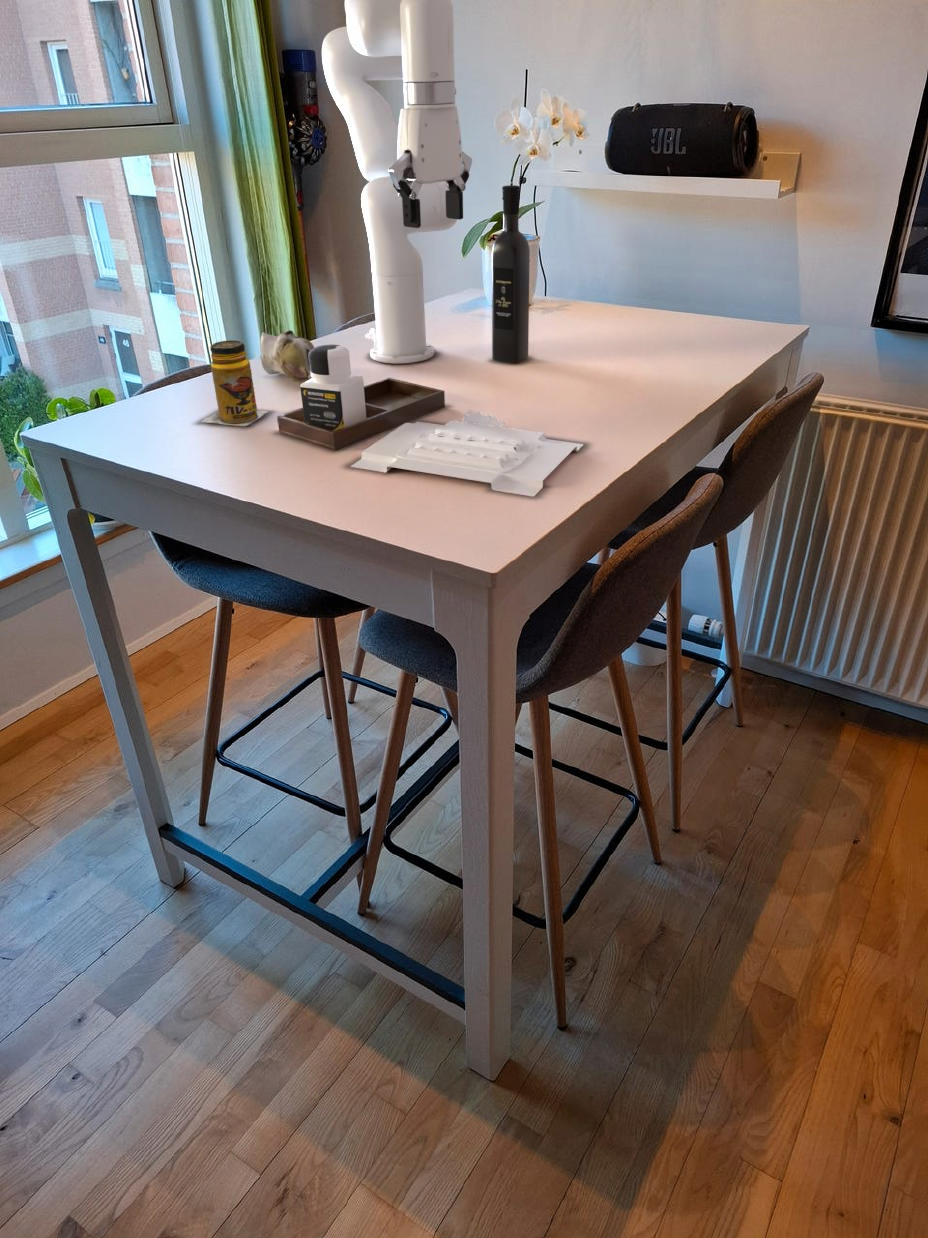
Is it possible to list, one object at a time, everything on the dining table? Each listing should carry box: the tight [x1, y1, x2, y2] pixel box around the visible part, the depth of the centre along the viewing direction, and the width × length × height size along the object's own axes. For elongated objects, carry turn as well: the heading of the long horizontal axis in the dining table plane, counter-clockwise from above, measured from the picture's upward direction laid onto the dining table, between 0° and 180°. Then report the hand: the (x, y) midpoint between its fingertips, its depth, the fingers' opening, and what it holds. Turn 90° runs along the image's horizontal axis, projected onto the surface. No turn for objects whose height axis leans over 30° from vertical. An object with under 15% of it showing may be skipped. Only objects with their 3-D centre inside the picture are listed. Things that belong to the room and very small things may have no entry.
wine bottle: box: [491, 184, 531, 364], centre depth 162 cm, size 6×6×30 cm
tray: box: [349, 410, 584, 498], centre depth 127 cm, size 20×28×4 cm
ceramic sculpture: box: [259, 330, 315, 383], centre depth 161 cm, size 11×9×15 cm
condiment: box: [200, 339, 269, 427], centre depth 141 cm, size 7×8×12 cm
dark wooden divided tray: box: [276, 377, 446, 451], centre depth 141 cm, size 13×25×3 cm, turn 140°
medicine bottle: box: [299, 344, 366, 431], centre depth 135 cm, size 7×7×12 cm
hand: (433, 222), depth 139 cm, fingers open, 9 cm apart
